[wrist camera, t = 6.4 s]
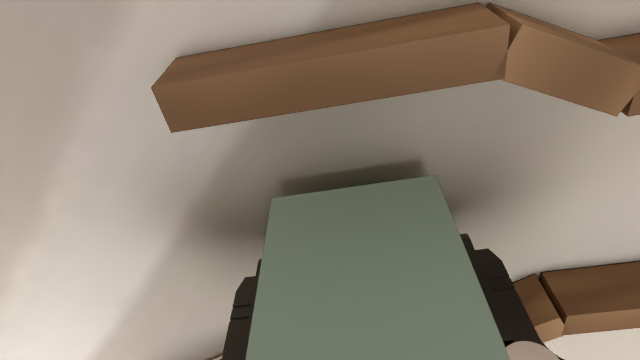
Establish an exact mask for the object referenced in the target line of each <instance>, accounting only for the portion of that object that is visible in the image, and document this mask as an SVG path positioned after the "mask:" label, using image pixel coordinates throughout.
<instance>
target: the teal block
mask: <svg viewBox="0 0 640 360" xmlns="http://www.w3.org/2000/svg"><path fill="white" fill-rule="evenodd" d="M246 360H510V358H509V355H508V353H507V350H506V348H505V345H504V343H503V340H502V338H501V335H500V333H499V330H498V328H497V326H496V323H495V321H494V318H493V316H492V313H491V311H490V308H489V306H488V303H487V301H486V298H485V296H484V293H483V291H482V288H481V286H480V284H479V281H478V279H477V276H476V274H475V271H474V269H473V266H472V264H471V261H470V259H469V256H468V254H467V251H466V249H465V246H464V244H463V241H462V239H461V237H460V234H459V232H458V229H457V227H456V224H455V222H454V219H453V217H452V214H451V212H450V209H449V207H448V204H447V202H446V199H445V197H444V195H443V192H442V190H441V187H440V185H439V182H438V180H437V177H436V175H432V176H424V177H417V178H410V179H403V180H396V181H389V182H382V183H375V184H368V185H361V186H354V187H347V188H340V189H333V190H326V191H319V192H312V193H305V194H298V195H291V196H284V197H277V198H272V200H271V206H270V212H269V218H268V224H267V231H266V237H265V243H264V249H263V255H262V261H261V268H260V274H259V280H258V286H257V292H256V298H255V305H254V311H253V317H252V323H251V329H250V335H249V342H248V348H247V354H246Z"/></svg>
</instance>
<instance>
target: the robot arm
mask: <svg viewBox="0 0 640 360" xmlns="http://www.w3.org/2000/svg"><path fill="white" fill-rule="evenodd" d="M460 237H461V239H462V241H463V244H464V246H465V249H466V251H467V254H468V256H469V259H470V261H471V264H472V266H473V269H474V271H475V274H476V276H477V279H478V281H479V284H480V286H481V288H482V291H483V293H484V296H485V298H486V301H487V303H488V306H489V308H490V311H491V313H492V316H493V318H494V321H495V323H496V326H497V328H498V330H499V333H500V335H501V338H502V340H503V343H504V345H505V348H506V350H507V353H508V355H509V358H510V360H564V359H562V358H560V357H558V356H557V355H555V354H554V353H553V352H552V351H550V350H549V349H548V348H547V347H546V346H545V345H544V343H543V342H542V341H541V339H540V338H539V336H538V334H537V332H536V330H535V328H534V326H533V324H532V322H531V320H530V317H529V315H528V313H527V311H526V309H525V307H524V305H523V303H522V301H521V299H520V297H519V295H518V293H517V291H515V287H514V285H513V283H512V281H511V279H510V278H509V275H508V273H507V271H506V269H505V267H504V264H503V262H502V261H501V260H500V259H499V258H498V257H497V256H496V255H495V254H494V253H493V252H491V251H490V250H489V249H480V250H475V249H474V247H473V245H472V242H471V240H470V238H469V236H468V234H460ZM261 261H262V259H260V260H259V262H258V267H257V272H256V276H253V277H245V278H244V280H243V282H242V283H241V285H240V286H239V288H238V289H237V291H236V294H235V299H234V304H233V309H232V313H231V318H230V319H231V321H230V322H229V327H228V332H227V336H226V341H225V346H224V350H223V355H222V360H246V354H247V348H248V342H249V335H250V329H251V323H252V317H253V311H254V305H255V298H256V292H257V286H258V280H259V274H260V268H261Z"/></svg>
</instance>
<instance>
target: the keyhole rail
mask: <svg viewBox="0 0 640 360" xmlns="http://www.w3.org/2000/svg"><path fill="white" fill-rule="evenodd" d="M499 79H500V80H503V81H506V82H509V83H513V84H516V85H519V86H522V87H525V88H528V89H531V90H535V91H538V92H541V93H544V94H547V95H550V96H554V97H557V98H560V99H563V100H566V101H569V102H572V103H576V104H579V105H582V106H585V107H588V108H591V109H595V110H598V111H601V112H604V113H607V114H610V115H613V116H618V114H619V113H620V112H622V113H624V114H625V115H626V116H634V115H640V34H634V35H628V36H622V37H616V38H610V39H604V40H598V41H597V40H594V39H591V38H588V37H586V36H583V35H580V34H577V33H574V32H571V31H569V30H566V29H563V28H560V27H557V26H554V25H552V24H549V23H546V22H543V21H540V20H537V19H535V18H532V17H529V16H526V15H523V14H520V13H518V12H515V11H512V10H509V9H506V8H503V7H501V6H498V5H495V4H492V3H490V4H489V5H488V7H487V8H486V7H485V6H483V5H482V4H480V3H476V4H470V5H465V6H459V7H454V8H448V9H443V10H437V11H432V12H426V13H421V14H415V15H410V16H404V17H399V18H393V19H388V20H382V21H377V22H371V23H366V24H360V25H355V26H349V27H344V28H338V29H333V30H327V31H322V32H316V33H311V34H305V35H300V36H294V37H289V38H283V39H278V40H272V41H267V42H261V43H256V44H250V45H245V46H239V47H234V48H228V49H223V50H217V51H212V52H206V53H201V54H195V55H190V56H184V57H179V58H176V59H175V60H174V61H173V62H172V64H171V65H170V66H169V67H168V68H167V69H166V71H165V72H164V73H163V74H162V75H161V76H160V78H159V79H158V80H157V81H156V82H155V84H154V85H153V86H152V87H151V89H152V91H153V93H154V95H155V97H156V100H157V102H158V104H159V106H160V109H161V111H162V113H163V115H164V117H165V120H166V122H167V124H168V126H169V129H170V131H171V133H173V132H179V131H185V130H191V129H197V128H203V127H210V126H216V125H222V124H228V123H234V122H240V121H247V120H253V119H259V118H265V117H271V116H277V115H284V114H290V113H296V112H302V111H308V110H314V109H320V108H327V107H333V106H339V105H345V104H351V103H357V102H364V101H370V100H376V99H382V98H388V97H394V96H401V95H407V94H413V93H419V92H425V91H431V90H438V89H444V88H450V87H456V86H462V85H468V84H475V83H481V82H487V81H493V80H499ZM513 285H514V287H515V291H517V293H518V295H519V297H520V299H521V301H522V303H523V305H524V307H525V309H526V311H527V313H528V315H529V317H530V320H531V322H532V324H533V326H534V328H535V330H536V332H537V334H538V336H539V338H540V339H541V341H542V342H546V341H549V340H552V339H555V338H558V337H561V336H564V335H571V334H581V333H591V332H601V331H612V330H622V329H632V328H640V262H632V263H623V264H614V265H605V266H596V267H587V268H579V269H570V270H561V271H552V272H543V273H542V275H541V280H540V281H539V279H538V278H537V276H536V275H535V274H534V275H532V276H529V277H527V278H525V279H522V280H520V281H517V282H515V283H513Z"/></svg>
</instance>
